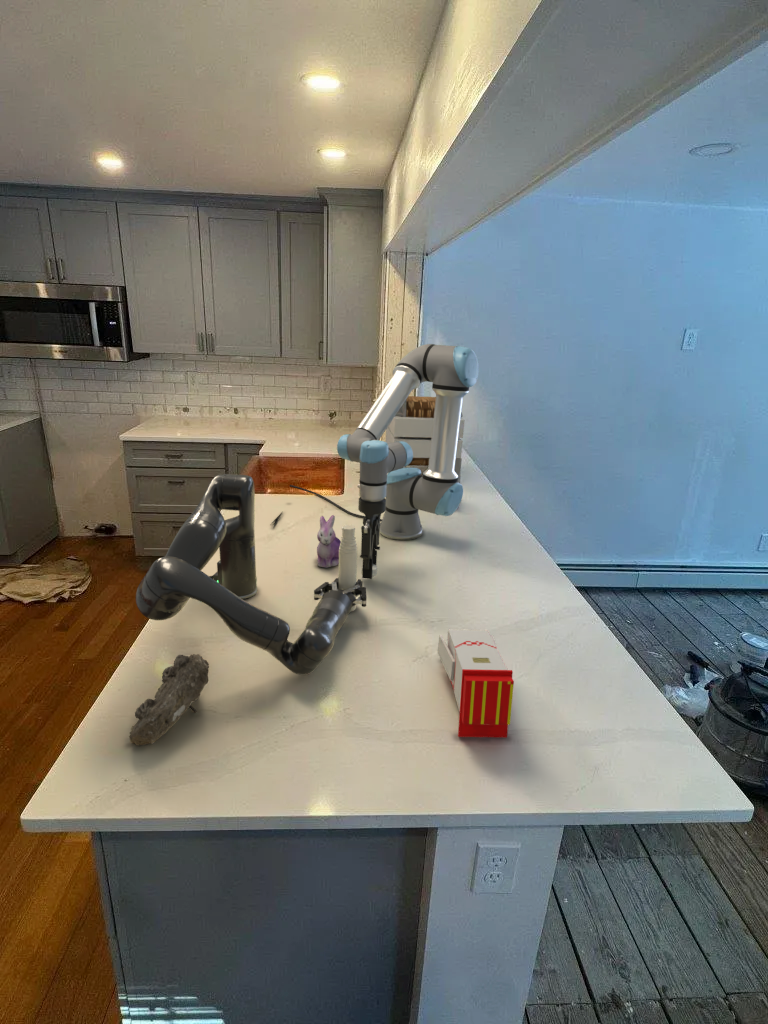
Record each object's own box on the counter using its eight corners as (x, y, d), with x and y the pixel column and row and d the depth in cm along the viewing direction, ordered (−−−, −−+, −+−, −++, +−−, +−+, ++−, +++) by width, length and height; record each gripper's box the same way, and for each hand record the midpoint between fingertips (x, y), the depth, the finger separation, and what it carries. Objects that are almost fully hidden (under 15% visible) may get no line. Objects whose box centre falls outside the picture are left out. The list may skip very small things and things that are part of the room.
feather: (289, 506, 225) (292, 502, 225) (272, 529, 199) (275, 525, 198) (286, 503, 225) (288, 500, 225) (268, 527, 199) (271, 522, 198)
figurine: (321, 571, 169) (321, 524, 164) (309, 557, 177) (309, 512, 172) (350, 565, 173) (351, 520, 168) (337, 553, 182) (338, 509, 177)
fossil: (160, 655, 118) (210, 623, 113) (193, 685, 121) (243, 655, 116) (104, 739, 99) (161, 705, 94) (145, 772, 102) (202, 741, 97)
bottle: (342, 602, 152) (343, 522, 144) (358, 605, 151) (360, 525, 143) (335, 610, 148) (336, 528, 140) (351, 613, 147) (353, 531, 139)
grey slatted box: (382, 463, 289) (386, 382, 275) (445, 464, 293) (451, 384, 279) (390, 482, 257) (394, 392, 243) (460, 483, 261) (468, 394, 247)
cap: (358, 574, 163) (358, 566, 162) (368, 569, 166) (368, 562, 166) (370, 578, 161) (370, 571, 160) (380, 574, 164) (380, 566, 163)
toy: (488, 613, 130) (523, 677, 101) (484, 667, 133) (517, 744, 104) (435, 612, 130) (455, 676, 101) (432, 666, 133) (451, 743, 103)
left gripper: (302, 622, 137) (324, 590, 152) (360, 630, 134) (375, 597, 150) (302, 594, 134) (324, 564, 150) (361, 602, 131) (377, 571, 147)
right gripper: (366, 487, 164) (364, 560, 172) (350, 505, 148) (348, 585, 156) (392, 490, 163) (388, 563, 171) (378, 508, 147) (374, 589, 155)
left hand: (350, 581), depth 150 cm, fingers closed on bottle, 4 cm apart
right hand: (369, 574), depth 163 cm, fingers closed on cap, 4 cm apart
